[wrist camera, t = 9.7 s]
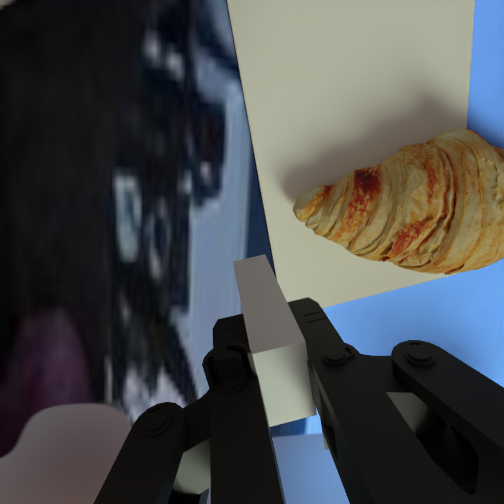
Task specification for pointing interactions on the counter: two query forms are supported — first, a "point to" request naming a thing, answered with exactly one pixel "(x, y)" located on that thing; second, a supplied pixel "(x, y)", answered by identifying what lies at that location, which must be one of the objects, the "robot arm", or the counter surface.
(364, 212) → the croissant
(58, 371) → the counter surface
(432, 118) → the mat
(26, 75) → the counter surface
